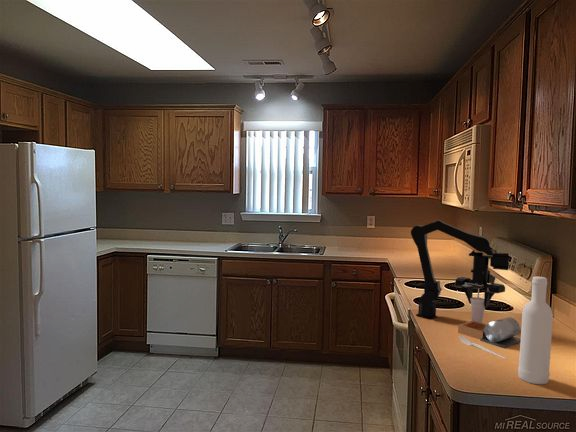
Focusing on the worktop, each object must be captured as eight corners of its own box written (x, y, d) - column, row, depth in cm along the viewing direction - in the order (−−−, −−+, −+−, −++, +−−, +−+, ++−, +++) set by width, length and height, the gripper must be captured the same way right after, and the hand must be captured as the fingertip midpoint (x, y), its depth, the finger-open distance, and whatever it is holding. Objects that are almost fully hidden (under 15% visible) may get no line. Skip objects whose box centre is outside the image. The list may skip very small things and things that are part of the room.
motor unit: (455, 333, 173) (456, 313, 173) (474, 327, 181) (475, 308, 181) (504, 348, 158) (506, 326, 158) (522, 341, 166) (524, 320, 166)
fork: (503, 362, 147) (503, 356, 147) (456, 340, 165) (457, 335, 165) (510, 360, 149) (511, 355, 148) (463, 339, 167) (463, 334, 166)
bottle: (544, 375, 135) (551, 276, 134) (552, 386, 128) (559, 281, 126) (515, 371, 138) (521, 273, 136) (521, 382, 130) (528, 278, 128)
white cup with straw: (482, 320, 189) (484, 287, 188) (487, 325, 183) (490, 290, 182) (466, 319, 190) (468, 286, 189) (471, 324, 183) (473, 290, 182)
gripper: (513, 269, 182) (510, 308, 183) (470, 262, 197) (468, 298, 198) (498, 272, 175) (496, 312, 176) (455, 264, 190) (453, 301, 191)
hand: (478, 305), depth 186 cm, fingers closed on white cup with straw, 6 cm apart
